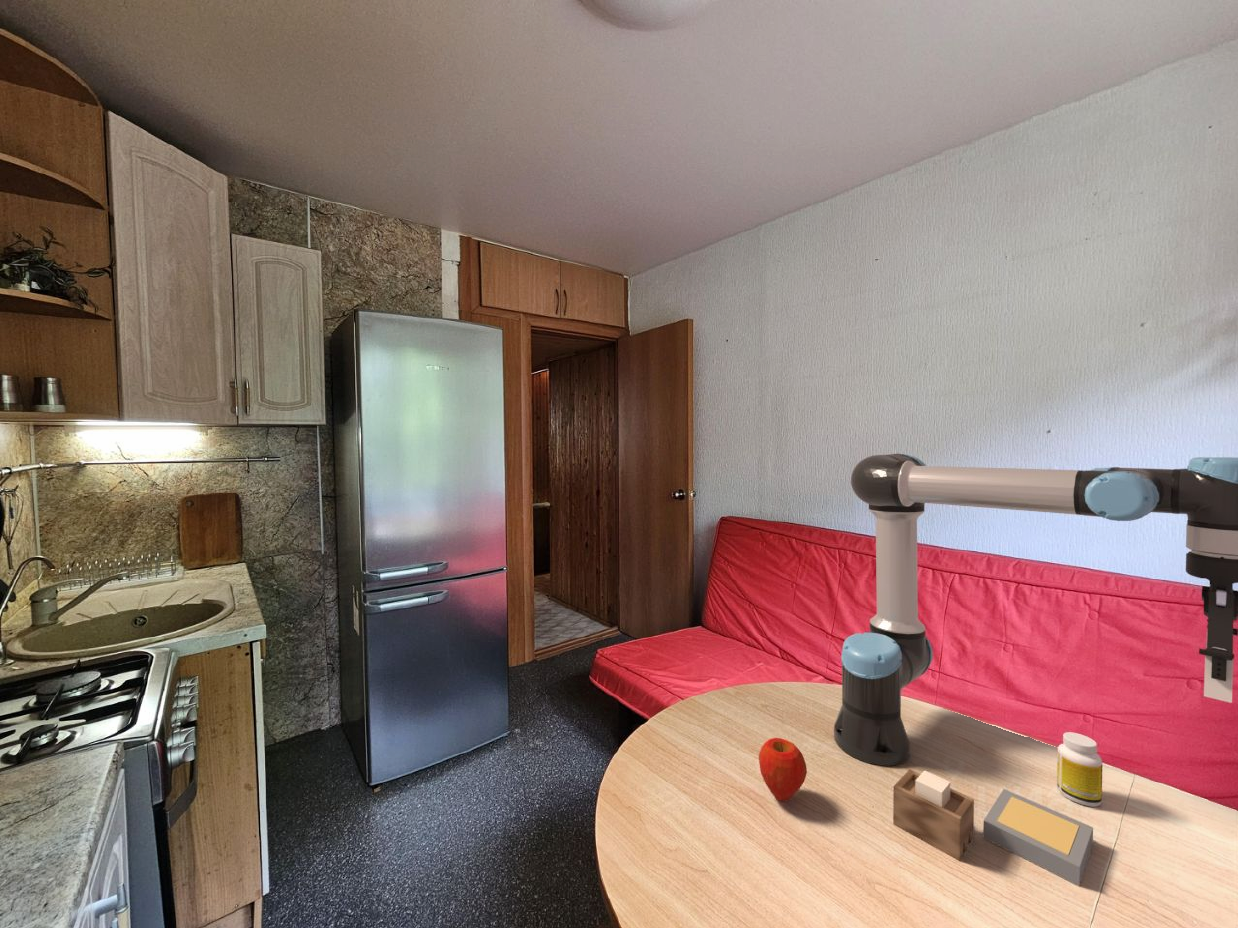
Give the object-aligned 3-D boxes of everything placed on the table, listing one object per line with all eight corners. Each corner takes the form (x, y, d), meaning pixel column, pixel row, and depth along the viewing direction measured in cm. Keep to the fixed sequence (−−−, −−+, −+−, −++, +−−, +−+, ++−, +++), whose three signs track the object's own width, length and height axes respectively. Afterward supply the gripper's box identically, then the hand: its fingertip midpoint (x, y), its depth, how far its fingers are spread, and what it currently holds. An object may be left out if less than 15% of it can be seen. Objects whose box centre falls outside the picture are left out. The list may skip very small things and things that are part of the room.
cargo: (915, 796, 85) (915, 780, 85) (924, 786, 87) (924, 770, 87) (941, 810, 82) (941, 792, 82) (950, 798, 84) (950, 781, 84)
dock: (983, 837, 83) (983, 819, 83) (1003, 804, 91) (1003, 788, 91) (1079, 886, 74) (1079, 866, 74) (1092, 844, 81) (1093, 826, 81)
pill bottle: (1111, 810, 89) (1112, 750, 89) (1071, 805, 90) (1072, 747, 90) (1086, 786, 95) (1087, 731, 95) (1049, 782, 96) (1050, 728, 96)
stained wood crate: (893, 824, 86) (893, 786, 86) (909, 805, 91) (909, 769, 91) (959, 861, 79) (959, 819, 78) (973, 839, 83) (973, 798, 83)
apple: (813, 796, 94) (813, 741, 93) (794, 821, 87) (794, 762, 87) (771, 776, 99) (770, 724, 99) (750, 798, 93) (750, 743, 93)
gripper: (1265, 571, 67) (1260, 722, 68) (1257, 546, 83) (1252, 669, 84) (1182, 562, 73) (1178, 701, 74) (1189, 540, 89) (1185, 655, 90)
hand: (1217, 684), depth 79 cm, fingers open, 13 cm apart
